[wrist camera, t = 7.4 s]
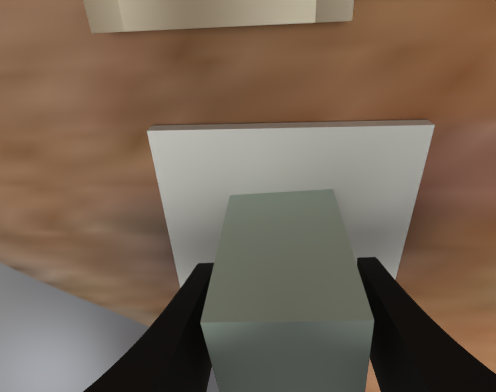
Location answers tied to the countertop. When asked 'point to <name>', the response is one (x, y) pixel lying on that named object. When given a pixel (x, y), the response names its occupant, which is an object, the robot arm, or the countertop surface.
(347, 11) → the holder
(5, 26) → the countertop surface
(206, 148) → the plate
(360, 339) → the block
